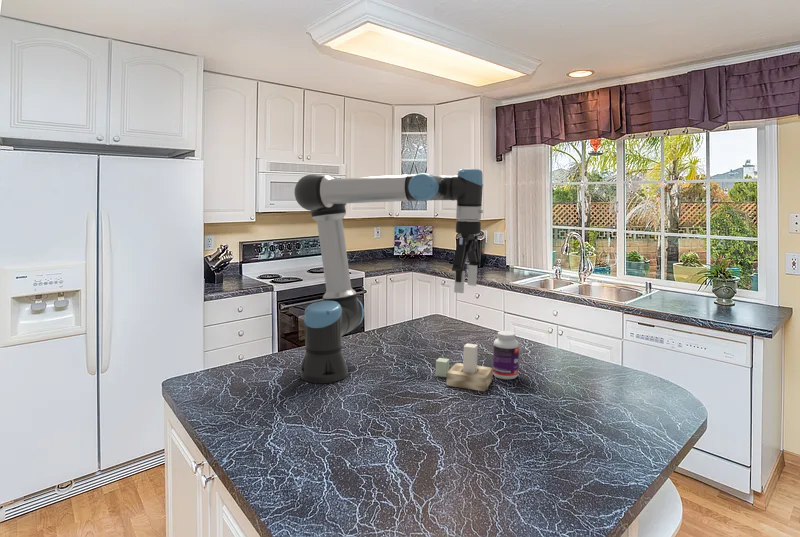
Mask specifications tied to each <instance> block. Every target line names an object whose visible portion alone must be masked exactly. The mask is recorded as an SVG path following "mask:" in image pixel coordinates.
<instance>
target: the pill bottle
mask: <svg viewBox="0 0 800 537" xmlns="http://www.w3.org/2000/svg"><path fill="white" fill-rule="evenodd" d="M492 350H493V353H492V354H493V355H492V368H493V375H494V377H495V378H497V379H500V380H514V379H516V378H517V377H518V375H519V356H520V343H519V340H517V339H516V333H515V332H513V331H510V330H500V331H498V332H497V338H496V339H494V341H493V348H492Z"/></svg>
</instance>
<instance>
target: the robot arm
mask: <svg viewBox="0 0 800 537" xmlns="http://www.w3.org/2000/svg"><path fill="white" fill-rule="evenodd" d="M483 178H484V177H483V171H482V170H481V169H479V168H461V169H458V171H457V174H456V175H439V174H431V173H428V172H420V173H416V174H415V173H413V174H402V175H401V174H400V175H399V174H398V175H396V174H395V175H379V176H362V177H360V176H359V177H345V178H344V177H343V178H341V177H340V178H339V177H336V176H333V175H327V174H326V175H325V174H324V175H323V174H322V175H321V174H307V175H304V176H302V177H301V178H300V179H299V180H298V181H297V183H296V185H295V187H294V197H295V201H296V202H297V204H298V205H299V206H300V207H301V208H303V209H304V210H307V211H310V214H311V219H312V220H314V221H315V222H316V224H317V230H318V231H317V232H318V239H319V240H318V241H319V245H320V247H319V248H320V252H321V253H320V254H321V260H322V268H323V275H324V282H325V290H326V292H324V294H323V296H322V300H321V301H316V302H313V303H310V304H309V305H307V307H305V309H304V317H303V323H304V342H305V343H304V345H305V351H304V352H305V354H304V357H303V361H302V363H301V367H300V378H301V379H302V381H305V382H308V383H312V384H329V383H335V382H339V381H341V380H344V379H345V378H346V377H347V376H348V375H349V374H348V373H349V371H348V370H349V368H348V365H347V362H346V359H345V357H344V353H343V347H342V346H343V345H342V344H343V336H344V335H346V334H348V333H350V332H352V331H355V329H356V328H357V327H358V326H360V324H361V323H362V321H363V319H364V317H365V310H364V305H363V304H362V301H360V300H359V298H358V294H357V291H356V290H354V289H353V288H352V282H351V275H350V268H349V260H348V252H347V244H346V238H345V230H344V223H343V219H344V217H345V215H347V211H346V205H347V204H363V203H364V204H366V203H367V204H368V203H386V202H387V203H388V202H389V203H391V202H392V203H394V202H416V201H417V202H418V201H420V202H427V201H456V213H455V214H456V215H455V216H456V217H455V219H456V220H457V221H456V222H455V232H456V234H460V235H461V237H457V238H456V247H455V251H454V252H455V253H454V257H453V263H452V267H451V271H452V272H454V288H453V291H454V292H453V293H458V294H464V292H465V272H466V271H465V266H466V262H467V258H468V263H469V264H468V267H467V268H468V269H467V285H468V286H472V287H474V286H477V280H478V278H477V277H478V275H477V274H478V266H481V261H480V254H479V253H480V252H479V245H478V244H479V242H478V238H479V237H478V235H479V234H481V229H482V227H481V226H482V222H481V221H480V220H481V219H482V214H483V213H484V210H483V209H482V205H483V204H482V202H483V199H482V198H483V188H484V187H483V186H484V184H483Z"/></svg>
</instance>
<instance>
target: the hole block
mask: <svg viewBox="0 0 800 537" xmlns="http://www.w3.org/2000/svg"><path fill="white" fill-rule="evenodd" d="M493 380H494V379H493V367H489V366H483V365H477V373H476V374H472V373H465V372H463V363H461V362H456V363H454V364H453V365H452V367H450V368H449V371H448V372H447V377H446V386H450V387H455V388H461V389H468V390H475V391H478V392H486V390H487V389H488V388H489V386H490V384H491V383H492V382H493Z"/></svg>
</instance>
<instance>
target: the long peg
mask: <svg viewBox="0 0 800 537" xmlns="http://www.w3.org/2000/svg"><path fill="white" fill-rule="evenodd" d="M478 346H479V345H478V344H476V343H474V344H473V343H468V342H467V343H466V344H464V345H463V360H462V361H463V372H465V373H472V374H476V373H477V366H478V351H479V350H478Z"/></svg>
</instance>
